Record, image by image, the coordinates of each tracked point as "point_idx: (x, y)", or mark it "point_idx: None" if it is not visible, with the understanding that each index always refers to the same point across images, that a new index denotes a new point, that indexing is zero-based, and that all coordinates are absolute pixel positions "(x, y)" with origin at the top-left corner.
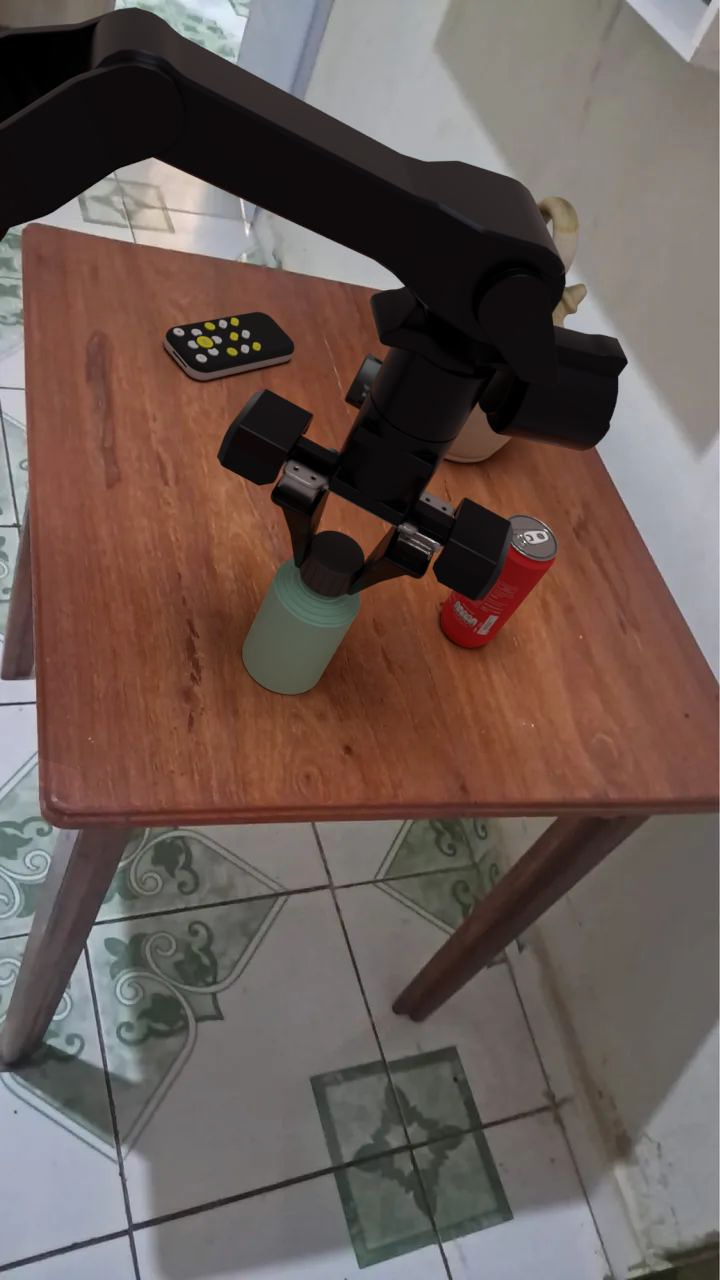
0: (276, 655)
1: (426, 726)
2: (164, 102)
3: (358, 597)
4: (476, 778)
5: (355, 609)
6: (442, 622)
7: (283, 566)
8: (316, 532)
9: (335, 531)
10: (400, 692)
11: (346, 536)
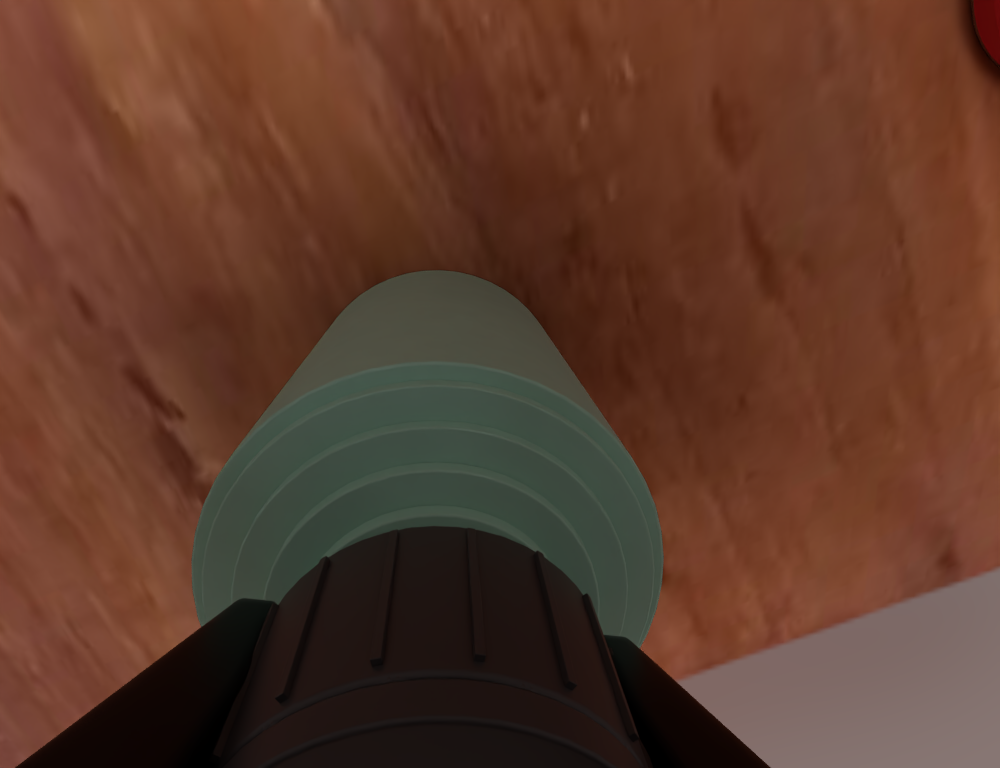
0: None
1: (868, 432)
2: None
3: (651, 560)
4: (987, 524)
5: (640, 635)
6: (981, 5)
7: (208, 550)
8: (188, 761)
9: (353, 735)
10: (799, 354)
11: (478, 737)
